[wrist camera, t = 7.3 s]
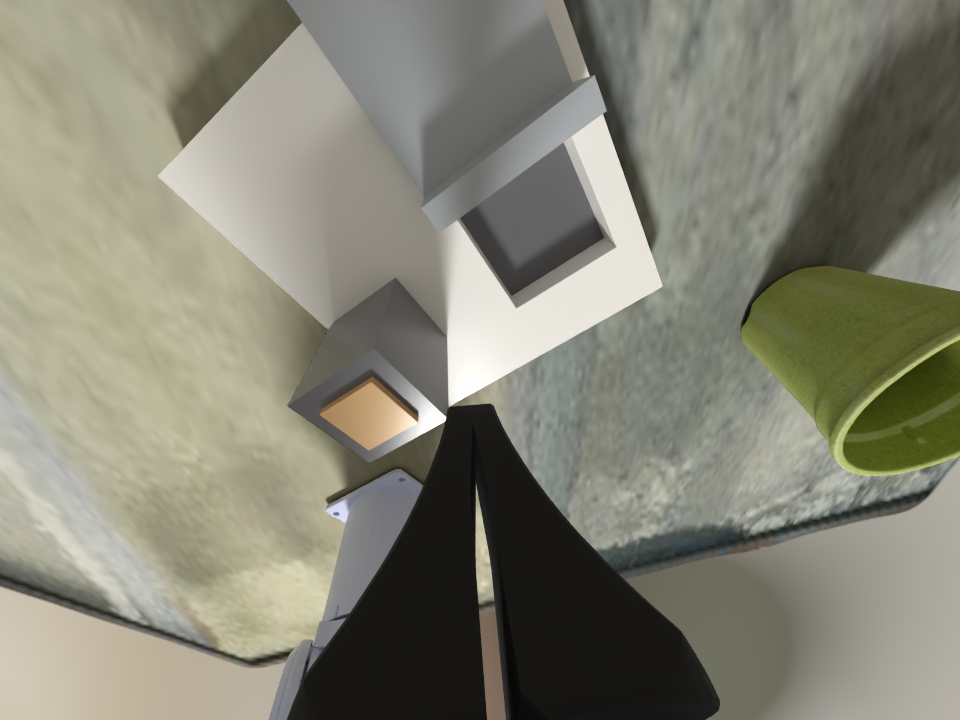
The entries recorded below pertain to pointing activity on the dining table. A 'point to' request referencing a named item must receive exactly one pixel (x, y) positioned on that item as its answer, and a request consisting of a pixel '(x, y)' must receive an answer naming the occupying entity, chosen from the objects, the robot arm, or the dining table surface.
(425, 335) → the grey rectangular block
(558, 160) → the socket board
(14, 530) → the dining table surface
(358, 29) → the shutter
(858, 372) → the plant pot
